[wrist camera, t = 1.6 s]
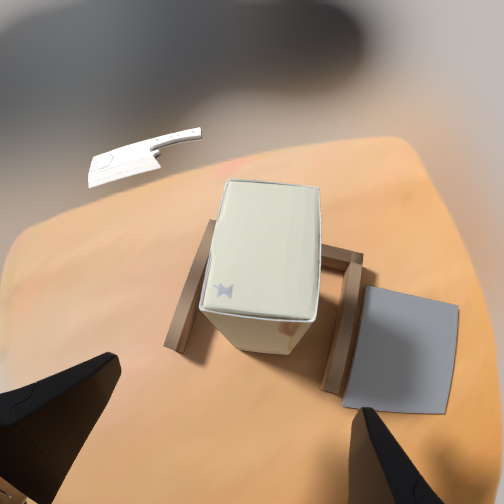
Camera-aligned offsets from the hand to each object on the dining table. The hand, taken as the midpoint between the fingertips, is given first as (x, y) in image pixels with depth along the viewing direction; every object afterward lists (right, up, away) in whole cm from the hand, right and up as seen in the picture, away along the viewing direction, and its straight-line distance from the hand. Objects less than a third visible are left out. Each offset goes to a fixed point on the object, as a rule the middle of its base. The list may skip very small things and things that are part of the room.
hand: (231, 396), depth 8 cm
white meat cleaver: (-13, +16, +22) cm, 30 cm away
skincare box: (+2, 0, +13) cm, 13 cm away
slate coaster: (+14, -4, +11) cm, 18 cm away
